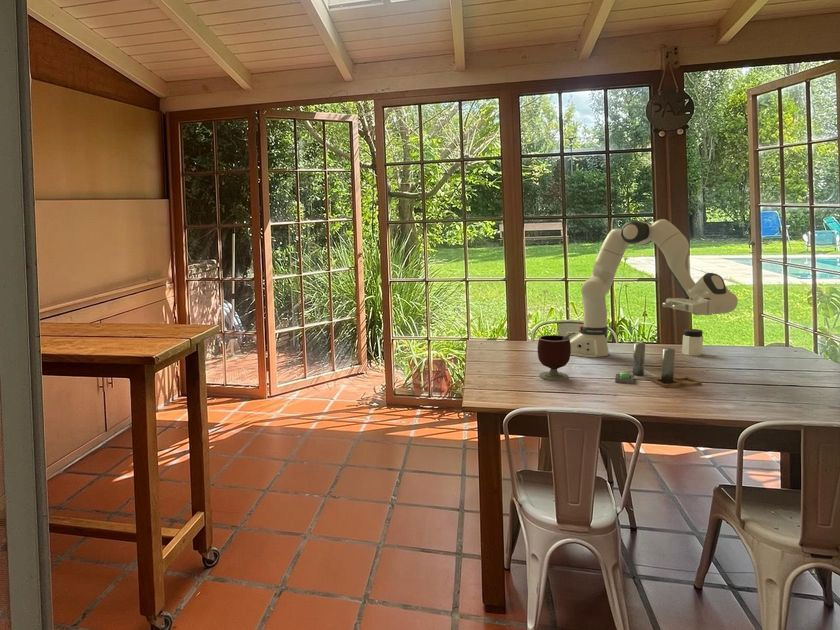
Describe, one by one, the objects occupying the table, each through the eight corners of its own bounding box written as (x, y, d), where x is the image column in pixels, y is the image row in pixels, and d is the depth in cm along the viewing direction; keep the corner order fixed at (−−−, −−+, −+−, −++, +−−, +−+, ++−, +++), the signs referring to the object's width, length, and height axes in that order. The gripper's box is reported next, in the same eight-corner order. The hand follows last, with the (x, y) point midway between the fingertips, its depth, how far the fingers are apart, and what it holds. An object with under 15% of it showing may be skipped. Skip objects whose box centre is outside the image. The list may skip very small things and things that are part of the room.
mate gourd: (534, 379, 227) (535, 333, 223) (539, 371, 239) (540, 327, 236) (572, 382, 221) (573, 335, 218) (575, 373, 234) (576, 329, 231)
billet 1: (632, 376, 225) (633, 344, 223) (632, 374, 229) (634, 342, 227) (643, 377, 223) (645, 344, 221) (643, 374, 227) (645, 342, 225)
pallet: (663, 390, 207) (663, 385, 207) (650, 384, 216) (650, 378, 216) (701, 387, 209) (701, 382, 209) (687, 381, 218) (687, 376, 218)
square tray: (632, 381, 220) (632, 378, 220) (619, 374, 231) (619, 371, 231) (657, 379, 221) (657, 376, 221) (643, 372, 232) (643, 369, 232)
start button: (619, 383, 216) (619, 374, 216) (619, 380, 220) (620, 371, 219) (629, 384, 215) (630, 375, 214) (630, 381, 219) (630, 372, 218)
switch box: (615, 385, 216) (615, 378, 215) (615, 380, 222) (616, 373, 222) (633, 386, 213) (633, 379, 213) (634, 382, 219) (634, 374, 219)
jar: (686, 351, 269) (688, 327, 267) (704, 353, 263) (705, 329, 261) (679, 354, 263) (681, 330, 261) (697, 357, 257) (698, 332, 255)
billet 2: (661, 384, 211) (662, 350, 208) (660, 381, 215) (662, 347, 212) (673, 385, 209) (675, 350, 207) (672, 382, 213) (674, 348, 211)
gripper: (684, 294, 234) (654, 295, 232) (715, 300, 214) (683, 301, 212) (683, 308, 235) (654, 309, 233) (714, 315, 215) (682, 317, 213)
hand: (668, 306), depth 223 cm, fingers open, 6 cm apart
